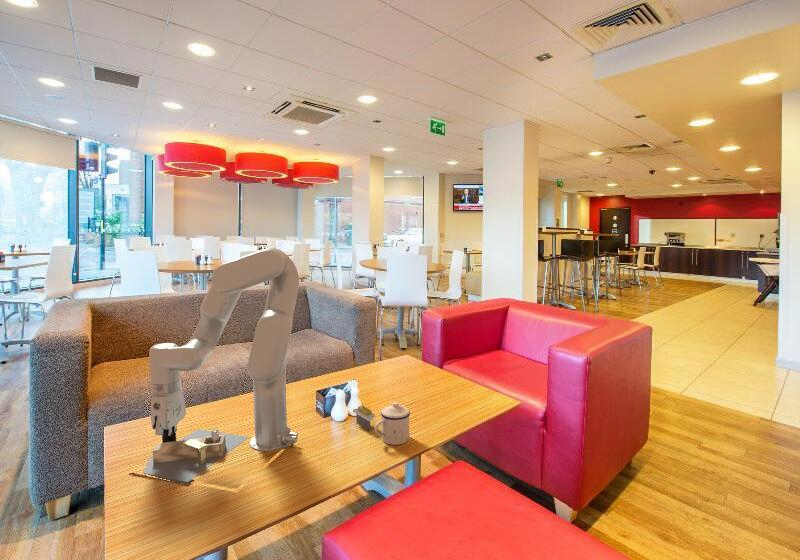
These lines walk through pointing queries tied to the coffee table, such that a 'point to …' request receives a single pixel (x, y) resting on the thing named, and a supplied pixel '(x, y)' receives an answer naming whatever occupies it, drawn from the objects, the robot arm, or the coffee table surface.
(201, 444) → the keeper
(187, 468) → the board
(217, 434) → the pintle
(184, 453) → the link
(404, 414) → the teacup with lid
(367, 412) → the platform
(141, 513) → the coffee table surface
